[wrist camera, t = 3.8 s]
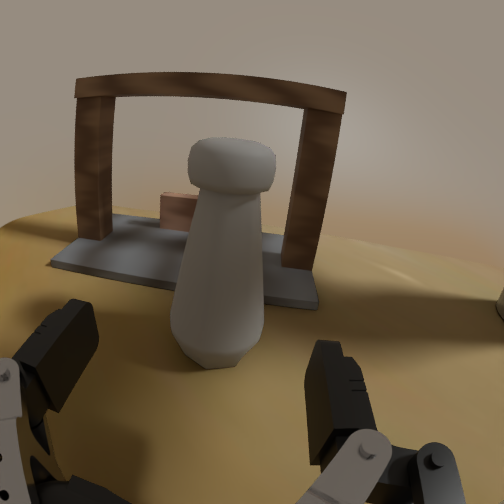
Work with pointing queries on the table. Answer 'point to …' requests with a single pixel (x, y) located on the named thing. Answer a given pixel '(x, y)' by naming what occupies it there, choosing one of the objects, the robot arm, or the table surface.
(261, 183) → the salt shaker
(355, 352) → the table surface
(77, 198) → the gateway
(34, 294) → the table surface
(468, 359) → the table surface
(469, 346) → the table surface
